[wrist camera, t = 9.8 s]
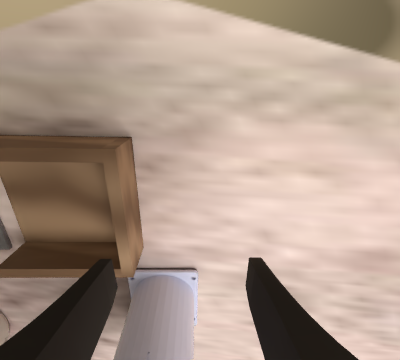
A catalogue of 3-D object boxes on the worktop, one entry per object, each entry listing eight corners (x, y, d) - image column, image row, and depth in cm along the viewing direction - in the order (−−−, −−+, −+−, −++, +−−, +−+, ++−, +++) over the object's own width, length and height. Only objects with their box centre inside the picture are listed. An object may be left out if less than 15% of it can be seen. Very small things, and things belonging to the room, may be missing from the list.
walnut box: (143, 247, 23) (133, 277, 19) (31, 247, 22) (-1, 277, 19) (131, 137, 18) (115, 149, 14) (-11, 135, 18) (-65, 146, 14)
